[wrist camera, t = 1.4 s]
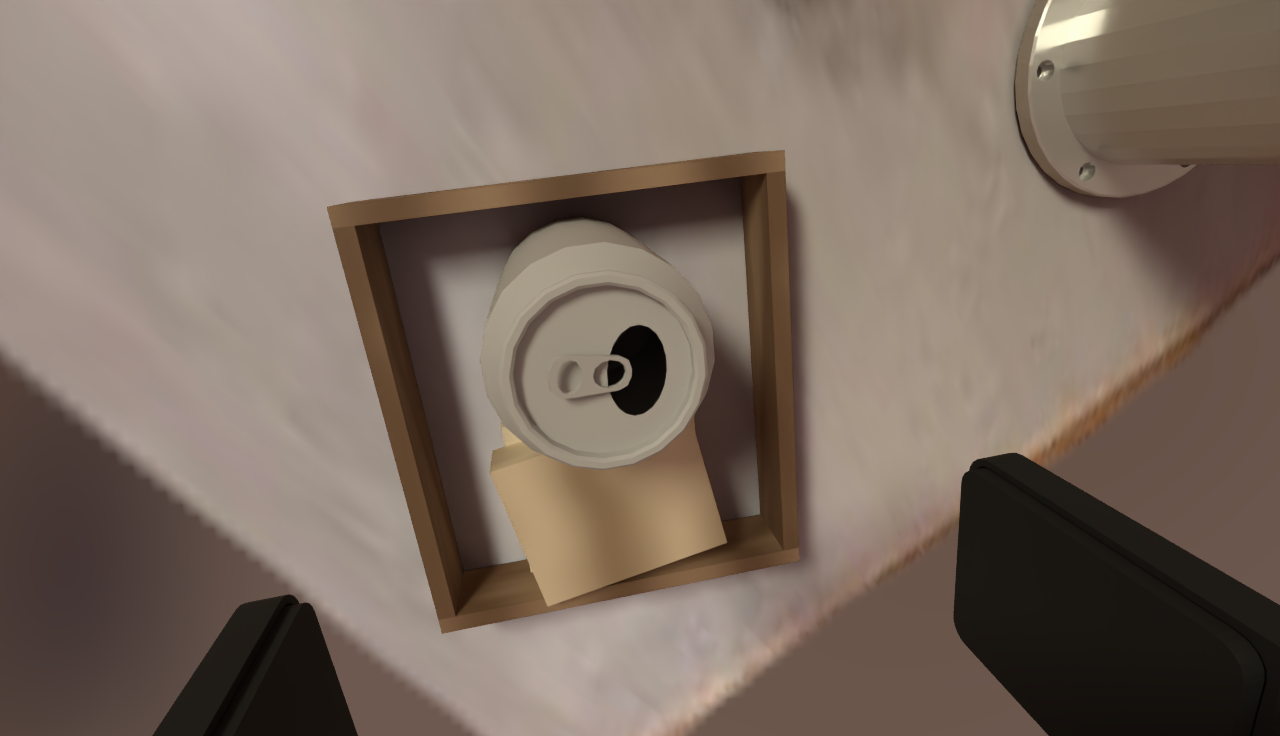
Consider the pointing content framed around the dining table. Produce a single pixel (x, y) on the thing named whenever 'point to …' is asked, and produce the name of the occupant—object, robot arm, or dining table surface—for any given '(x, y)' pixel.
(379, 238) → the wooden frame
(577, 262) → the can
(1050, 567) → the robot arm
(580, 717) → the dining table surface
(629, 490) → the offcut stack
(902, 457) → the dining table surface
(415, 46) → the dining table surface
